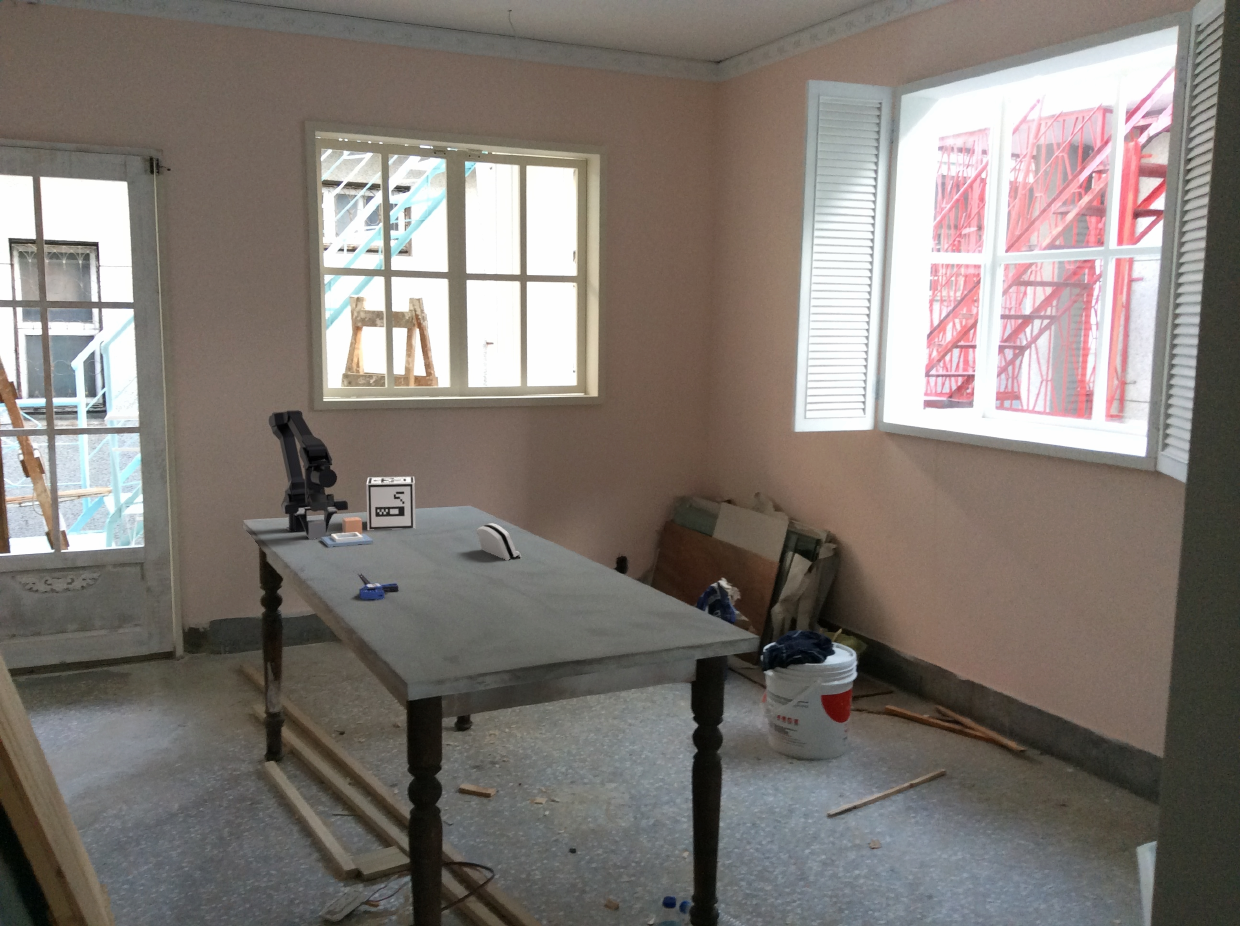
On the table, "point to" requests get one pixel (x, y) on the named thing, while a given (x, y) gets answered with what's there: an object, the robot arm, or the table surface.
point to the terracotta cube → (352, 525)
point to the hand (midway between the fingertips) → (316, 533)
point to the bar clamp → (375, 589)
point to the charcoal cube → (316, 528)
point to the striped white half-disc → (496, 541)
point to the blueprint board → (346, 539)
